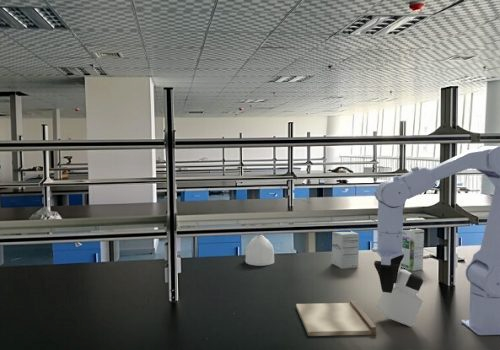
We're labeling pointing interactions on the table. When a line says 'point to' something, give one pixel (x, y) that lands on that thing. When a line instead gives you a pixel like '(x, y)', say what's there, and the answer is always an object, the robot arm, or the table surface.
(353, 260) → the supplement box
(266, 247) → the teardrop
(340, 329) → the board
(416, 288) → the medicine bottle
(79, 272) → the table surface
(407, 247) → the syrup box
